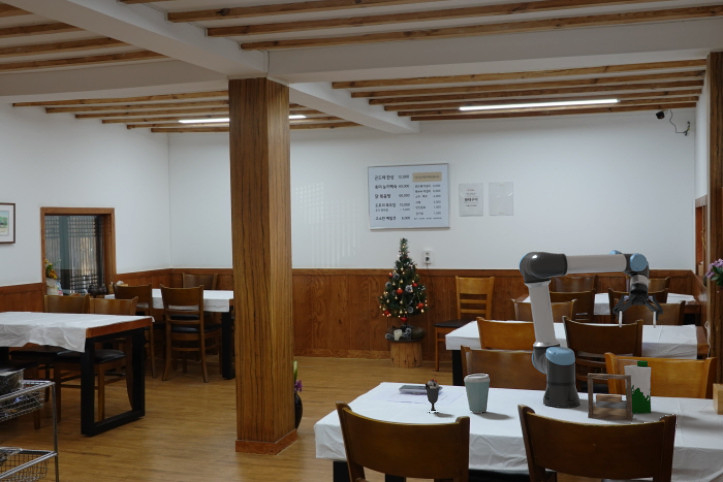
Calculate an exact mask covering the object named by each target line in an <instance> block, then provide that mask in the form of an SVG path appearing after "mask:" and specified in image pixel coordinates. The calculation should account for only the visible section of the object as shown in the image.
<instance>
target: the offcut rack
mask: <svg viewBox="0 0 723 482" xmlns="http://www.w3.org/2000/svg"><path fill="white" fill-rule="evenodd" d="M594 379H612V380H625V379H626V383H625V391H626V390H627V400H626V399H623V396H622V394H607V393H606V394H603V393H597V394H596V395H595V404H594ZM587 402H588V403H587V405H588V406H587V407H588V414H587V419H601V420H614V421H615V420H616V421H627V422H628V421H629V422H630V421H631V422H633V419H634V413H632V393H631V375H625V374H617V373H616V374H614V373H613V374H612V373H591V372H588V373H587Z"/></svg>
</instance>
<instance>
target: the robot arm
mask: <svg viewBox="0 0 723 482" xmlns="http://www.w3.org/2000/svg"><path fill="white" fill-rule="evenodd" d="M518 263H519V264H518V269H519V272H520V274H521V275H522V276H523V281H524V285H525V286H526V287H528V293H529V299H530V300H529V301H530V308H531V314H532V322H533V329H534V337H535V341H534V343H533V344H532V346H533V348H532V349H533V352H532V355H531V361H532V365H533V366H534V368H535V369H536V370H537V371H539V372H540V373H541V374H543V375H546V387H545V391H544V393H543V398H542V405H544V404H545V405H544V406H546V405H548V406H547V407H551V406H552V407H554V408H574V407H575V408H576V407H579V406H580V405H581V399H580V396H579V393H578V392H579V391H578V389H577V388H576V363H575V362H576V357H575V352H574V350H572V349H571V348H568V347H564V346H561V342H560V341H559V340H558V339H557V337H556V332H555V322H554V318H553V315H554V314H553V310H552V302H551V296H550V295H551V294H550V289H549V284H551V282H552V278H557V277H565V276H567V275H569V274H589V273H590V274H591V273H613V272H614V273H615V272H616V273H617V272H618V273H619V272H622V273H623V274H625V275H626V276H629V277H630V282H629V285H630V286H629V294H628V295H625V294H621V298H620V299H618V301H617V303H616V304H615V306H614V307H613V308H612V313H613V314H614V315H616V320H617V321H618V327H619V328H622V326H623V325H622V321H623V313H624V312H625V311H626V310H628V309H629V308H631V307H633V306H644V307H646V308H648V309H649V310H650V312H652V313H653V321H652V322H653V323H652V324H653V325H652V326H653V328H654V329H655V328H656V327H657V322H658V321H659V319H660V315H664V309H663V307H662V306H661V304H660V302H659V301H658V299H657V298H656V295H655V294H652V295H649V278H650V264H649V261H648V260H647V258H646V256H645V255H644V254H642V253H639V252H638V253H637V252H636V253H623V252H621V251H618V250H616V249H613V250H611V251H610V252H609V254H585V255H583V254H580V255H576V254H575V255H566V254H565V253H553V252H547V251H531V252H527V253H525V254H523V256H522V257H521V258H520V260H519V262H518ZM649 300H650V301H651V302H652V303H653V304H652V303H651V302H650V301H649Z"/></svg>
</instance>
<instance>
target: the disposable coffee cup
mask: <svg viewBox="0 0 723 482" xmlns="http://www.w3.org/2000/svg"><path fill="white" fill-rule="evenodd" d="M489 376H490V374H487V373H473V374H469V375H466V376H464V379H463V381H464V387H465V391H466V397H467V402H468V408H469V411H472V412H477V413H476V414H483V413H482V412H485V413H486V412H487V410H488V400H489V391H490V381H491V378H490V377H489Z"/></svg>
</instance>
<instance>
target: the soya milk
mask: <svg viewBox="0 0 723 482" xmlns="http://www.w3.org/2000/svg"><path fill="white" fill-rule="evenodd" d="M648 365H649V363H648V360H637V361H636V364H630V365H624V375H631V393H632V414H633V415H634V414H652V399H651V374H652V373H651V372H652V367H650V366H648ZM624 380H625V381H624V382H625V384H626V379H624ZM625 400H627V390H626V389H625Z"/></svg>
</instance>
